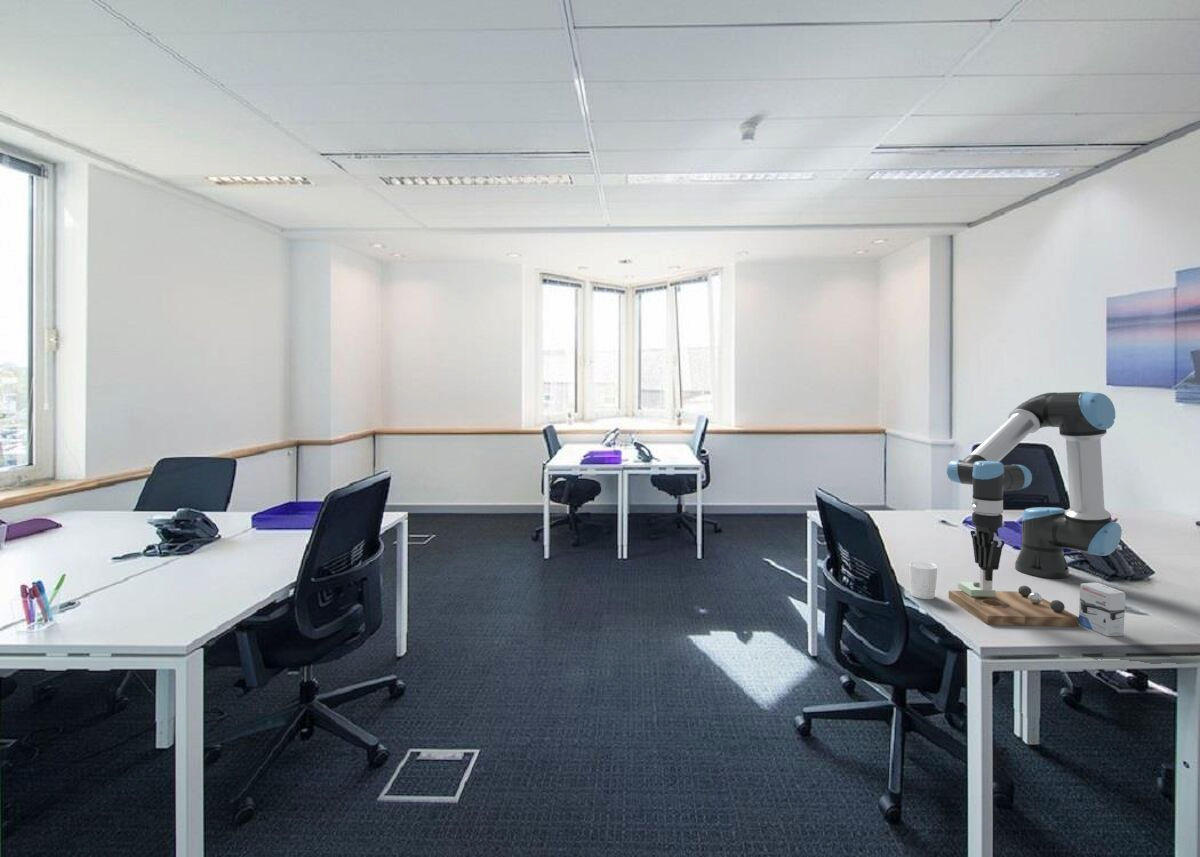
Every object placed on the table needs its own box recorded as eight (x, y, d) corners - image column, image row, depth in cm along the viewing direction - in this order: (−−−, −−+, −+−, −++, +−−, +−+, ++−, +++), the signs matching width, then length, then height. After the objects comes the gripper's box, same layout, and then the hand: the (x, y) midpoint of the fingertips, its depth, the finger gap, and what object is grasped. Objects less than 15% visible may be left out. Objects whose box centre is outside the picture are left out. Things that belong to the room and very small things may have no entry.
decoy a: (1026, 594, 171) (1027, 584, 171) (1034, 598, 168) (1034, 587, 167) (1015, 594, 171) (1016, 584, 171) (1022, 598, 168) (1023, 587, 168)
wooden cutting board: (1029, 599, 173) (1029, 591, 173) (1079, 626, 153) (1079, 617, 153) (948, 598, 175) (948, 590, 175) (987, 624, 155) (987, 615, 155)
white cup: (926, 602, 173) (927, 570, 172) (902, 594, 180) (903, 563, 179) (942, 597, 176) (942, 566, 176) (918, 589, 183) (918, 560, 183)
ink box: (1077, 623, 155) (1078, 582, 154) (1093, 622, 155) (1095, 581, 155) (1107, 637, 147) (1109, 593, 146) (1124, 636, 147) (1126, 592, 146)
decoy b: (1059, 609, 159) (1059, 598, 159) (1067, 613, 156) (1067, 602, 155) (1047, 609, 159) (1047, 598, 159) (1055, 613, 156) (1055, 602, 156)
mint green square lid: (981, 588, 176) (981, 579, 175) (995, 596, 169) (995, 586, 168) (958, 588, 176) (958, 579, 176) (970, 596, 169) (971, 586, 169)
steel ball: (1036, 601, 165) (1037, 591, 165) (1044, 605, 162) (1044, 594, 162) (1025, 601, 165) (1025, 590, 165) (1032, 605, 162) (1033, 594, 162)
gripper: (961, 508, 173) (960, 582, 175) (987, 517, 160) (985, 597, 162) (987, 508, 173) (986, 582, 174) (1014, 517, 160) (1013, 597, 161)
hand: (985, 589), depth 168 cm, fingers closed
